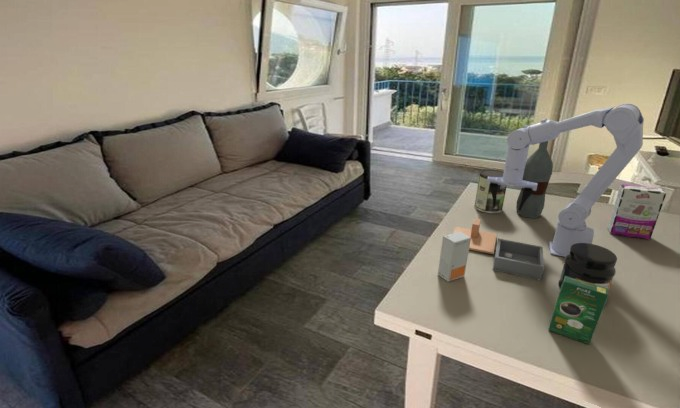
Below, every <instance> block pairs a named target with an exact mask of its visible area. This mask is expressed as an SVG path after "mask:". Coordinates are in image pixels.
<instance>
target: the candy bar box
mask: <svg viewBox="0 0 680 408" xmlns="http://www.w3.org/2000/svg"><path fill="white" fill-rule="evenodd" d="M666 196H667V192H666V190H664V189H663V188H662V187H653V186H652V187H651V186H643V185H633V184H625V183H623V184H622V183H621V184H620V185H619V188H618V191H617V195H616V198H615V201H614V206H613V208H612V212H611V215H610V218H609V221H608V225H607V230H608V232H609V234H610V235H613V236H614V235H615V236H620V237H628V238H635V239H641V240H647V241H649V240H651V238H652V236H653V232H654V230H655V228H656V225H657V221H658V218H659V216H660V213H661V211H662V208H663V207H662V206H663V205H664V204H663V203H664V202H665V199H666Z"/></svg>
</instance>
